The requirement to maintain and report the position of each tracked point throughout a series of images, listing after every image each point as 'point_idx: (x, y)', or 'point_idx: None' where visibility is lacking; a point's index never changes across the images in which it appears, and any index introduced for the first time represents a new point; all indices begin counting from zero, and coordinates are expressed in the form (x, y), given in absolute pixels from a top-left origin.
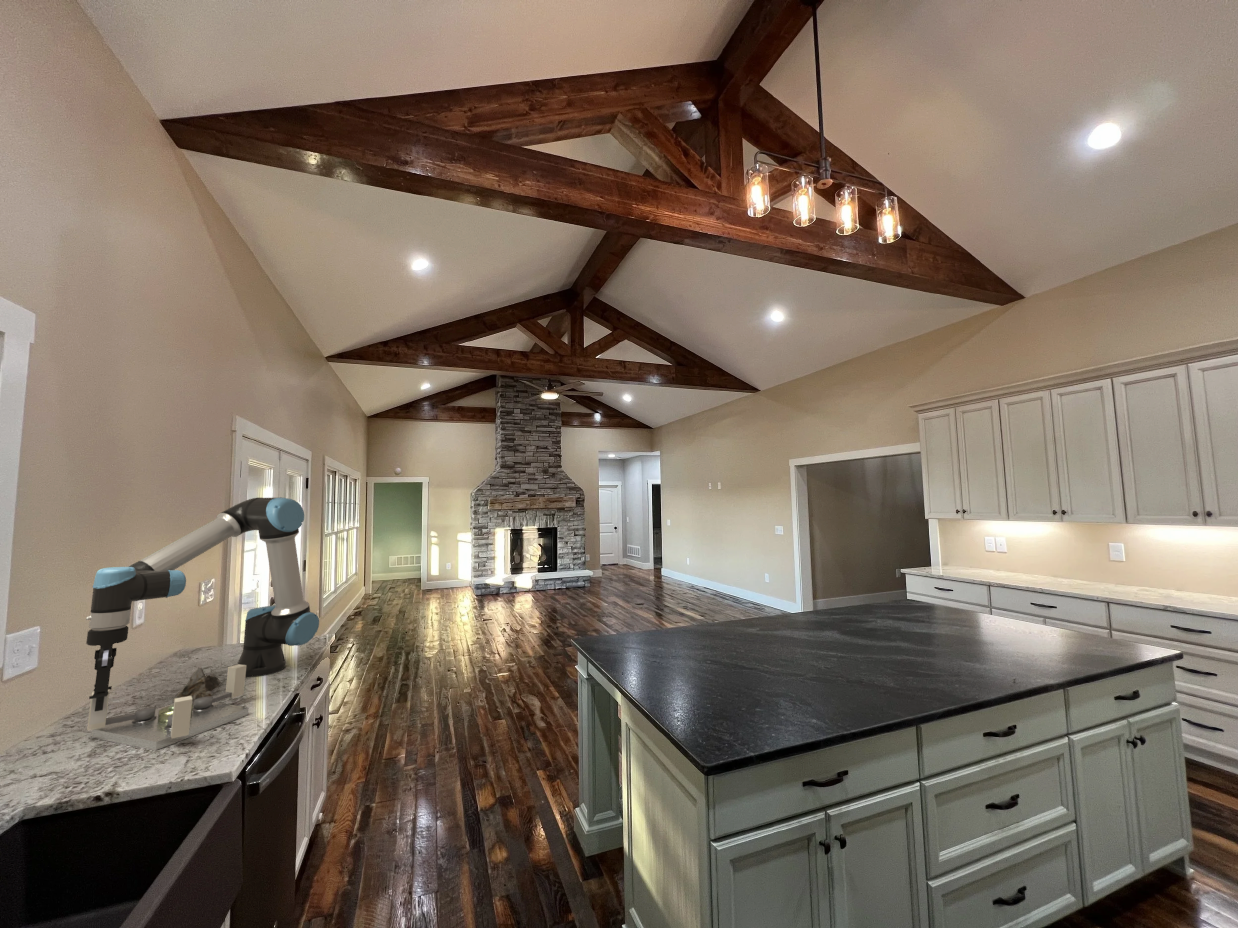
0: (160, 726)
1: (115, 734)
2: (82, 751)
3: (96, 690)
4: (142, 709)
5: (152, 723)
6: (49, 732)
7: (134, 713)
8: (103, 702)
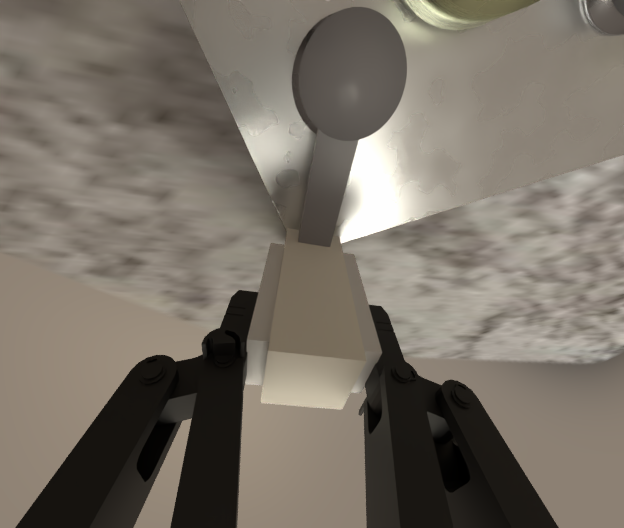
0: (546, 43)
1: (427, 214)
2: (409, 271)
3: (466, 466)
4: (325, 95)
5: (448, 65)
6: (158, 301)
7: (330, 139)
8: (395, 338)
